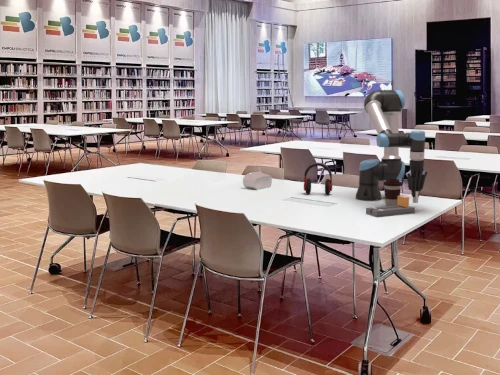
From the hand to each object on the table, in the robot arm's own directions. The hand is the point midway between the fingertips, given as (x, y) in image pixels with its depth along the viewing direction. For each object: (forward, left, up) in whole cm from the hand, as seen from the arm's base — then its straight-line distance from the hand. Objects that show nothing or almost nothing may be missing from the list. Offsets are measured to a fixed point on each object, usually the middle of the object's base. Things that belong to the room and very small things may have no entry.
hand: (415, 202), depth 328 cm
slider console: (0, -16, -4) cm, 17 cm away
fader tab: (0, -8, -3) cm, 8 cm away
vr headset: (-105, -49, -5) cm, 115 cm away
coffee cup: (-17, -3, -5) cm, 18 cm away
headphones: (-66, -24, -5) cm, 70 cm away
